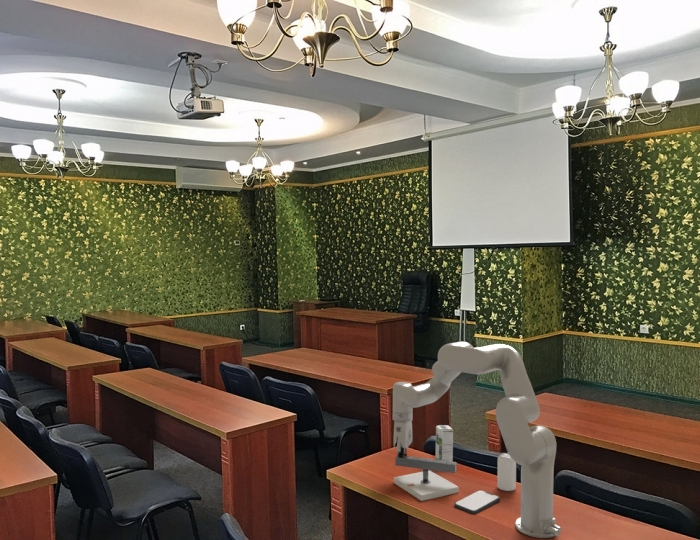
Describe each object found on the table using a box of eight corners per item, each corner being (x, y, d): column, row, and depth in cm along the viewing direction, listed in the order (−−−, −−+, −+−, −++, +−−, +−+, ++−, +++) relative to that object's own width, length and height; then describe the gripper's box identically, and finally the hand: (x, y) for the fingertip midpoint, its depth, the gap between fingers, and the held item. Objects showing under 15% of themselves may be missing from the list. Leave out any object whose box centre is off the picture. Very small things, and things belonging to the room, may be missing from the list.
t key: (456, 484, 204) (456, 462, 204) (455, 487, 201) (455, 464, 201) (397, 475, 212) (397, 454, 212) (395, 478, 209) (395, 457, 209)
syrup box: (434, 460, 235) (435, 425, 235) (448, 459, 236) (448, 424, 236) (439, 464, 229) (439, 429, 229) (453, 464, 230) (453, 428, 230)
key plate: (458, 492, 202) (458, 486, 202) (421, 501, 195) (421, 494, 195) (429, 475, 218) (429, 469, 218) (393, 482, 211) (393, 476, 211)
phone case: (474, 516, 185) (501, 501, 195) (474, 511, 184) (501, 496, 195) (452, 507, 191) (479, 493, 202) (452, 503, 191) (479, 489, 202)
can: (513, 484, 209) (514, 452, 209) (517, 492, 203) (517, 458, 202) (496, 484, 210) (496, 452, 210) (498, 491, 203) (499, 458, 203)
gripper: (406, 421, 205) (406, 472, 205) (417, 411, 218) (416, 458, 219) (386, 419, 207) (386, 469, 208) (398, 409, 221) (398, 456, 222)
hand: (402, 463), depth 213 cm, fingers closed
